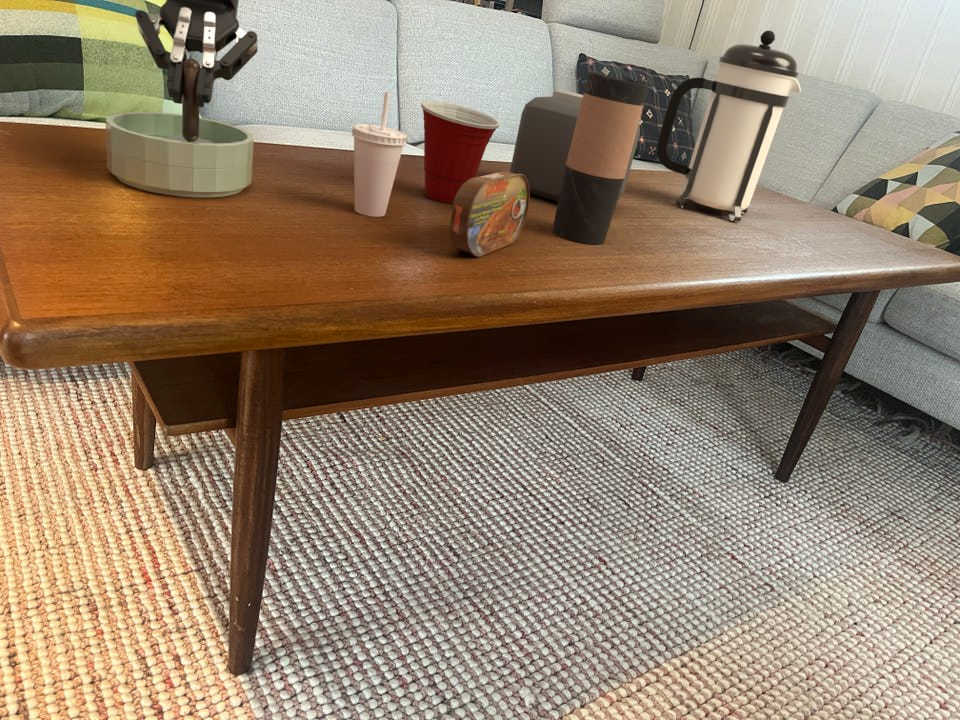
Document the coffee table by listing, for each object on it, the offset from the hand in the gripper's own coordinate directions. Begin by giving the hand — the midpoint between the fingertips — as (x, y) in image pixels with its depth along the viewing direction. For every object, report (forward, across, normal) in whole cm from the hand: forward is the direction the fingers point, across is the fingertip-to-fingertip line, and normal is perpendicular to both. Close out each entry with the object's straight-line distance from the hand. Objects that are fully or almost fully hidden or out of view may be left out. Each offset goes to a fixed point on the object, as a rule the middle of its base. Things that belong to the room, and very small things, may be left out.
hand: (188, 100), depth 80 cm
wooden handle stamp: (+4, 0, +7) cm, 8 cm away
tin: (+13, +34, 0) cm, 36 cm away
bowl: (+5, -1, +8) cm, 10 cm away
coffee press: (-15, +82, +29) cm, 89 cm away
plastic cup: (-1, +32, +15) cm, 35 cm away
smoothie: (+7, +21, +6) cm, 23 cm away
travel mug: (+6, +49, +8) cm, 50 cm away
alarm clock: (-9, +52, +22) cm, 58 cm away
